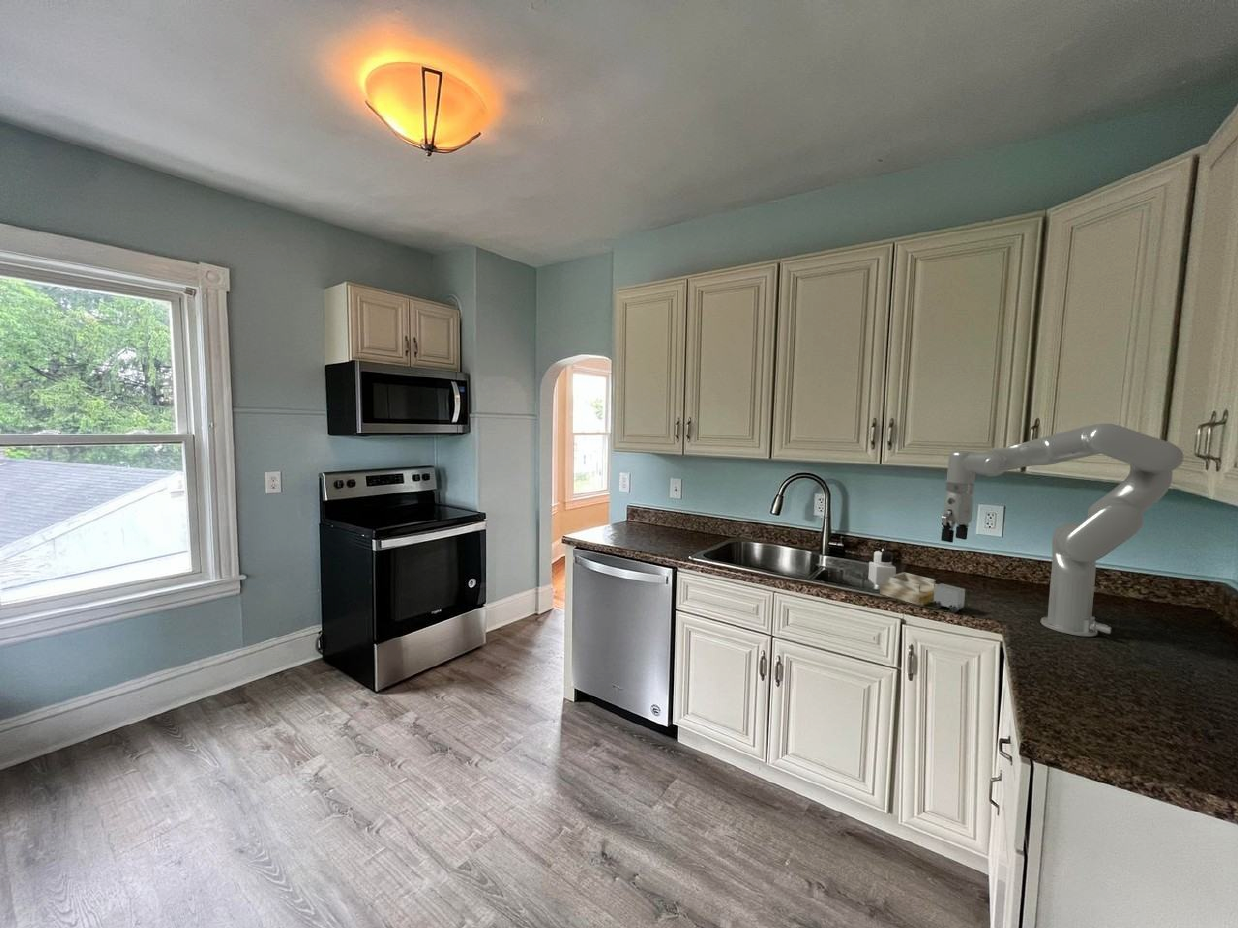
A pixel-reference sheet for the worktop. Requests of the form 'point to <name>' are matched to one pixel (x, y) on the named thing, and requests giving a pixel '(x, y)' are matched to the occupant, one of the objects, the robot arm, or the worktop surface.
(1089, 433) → the robot arm
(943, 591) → the grey block
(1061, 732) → the worktop surface
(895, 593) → the loading dock
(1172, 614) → the worktop surface
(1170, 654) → the worktop surface
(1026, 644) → the worktop surface
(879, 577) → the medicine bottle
